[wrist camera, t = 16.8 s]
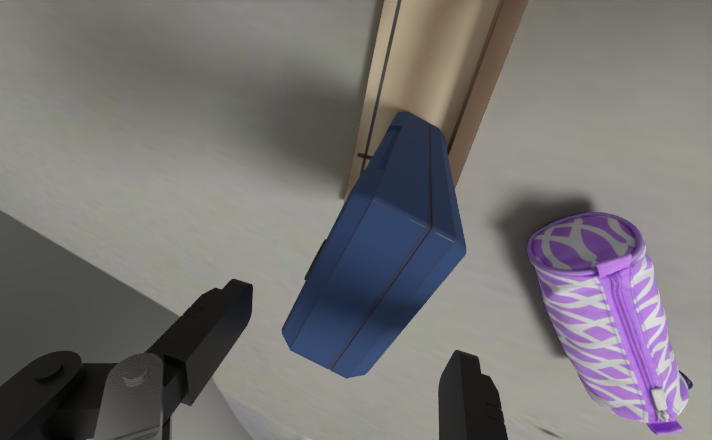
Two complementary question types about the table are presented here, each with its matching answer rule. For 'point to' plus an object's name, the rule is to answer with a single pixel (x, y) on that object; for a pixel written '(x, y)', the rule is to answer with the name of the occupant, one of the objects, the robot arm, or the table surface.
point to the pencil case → (610, 316)
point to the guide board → (435, 71)
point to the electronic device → (381, 253)
